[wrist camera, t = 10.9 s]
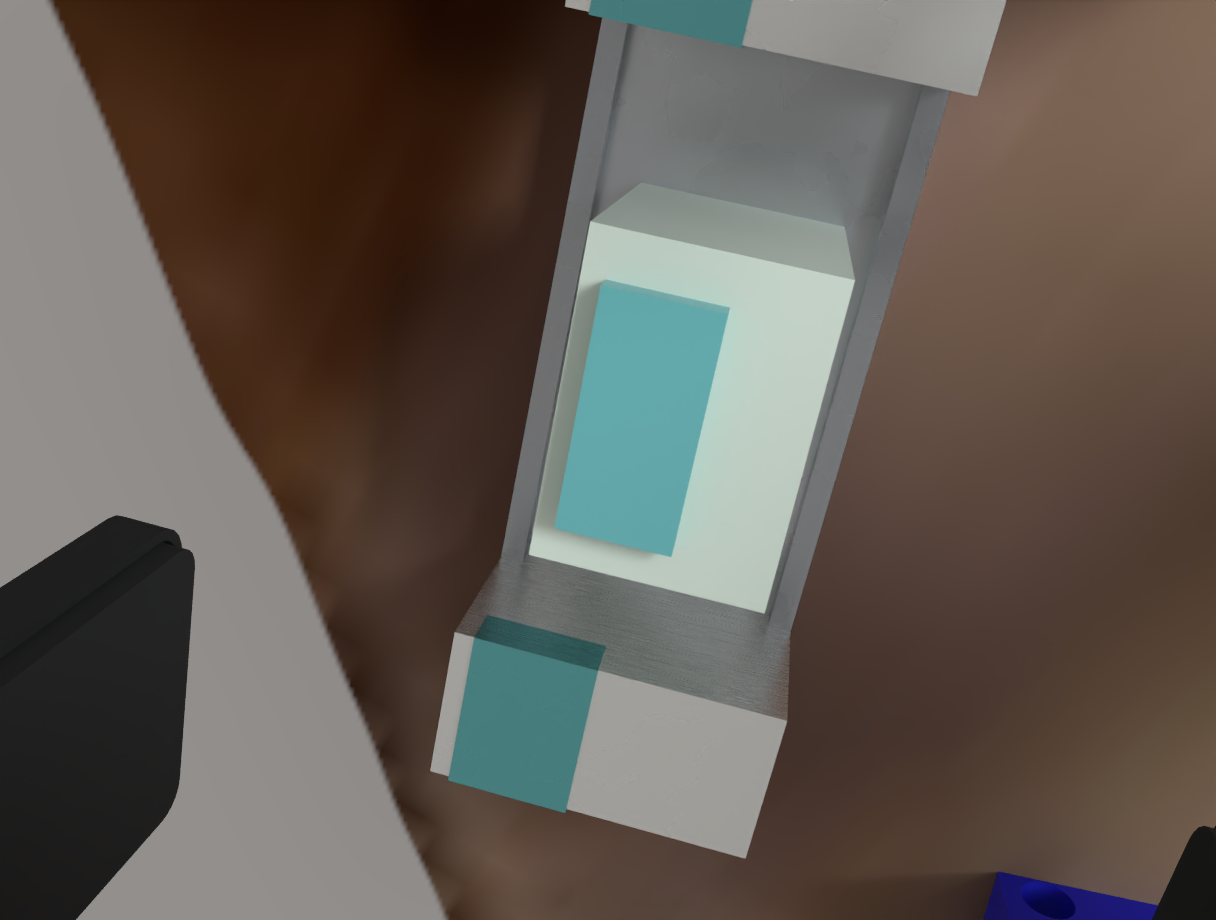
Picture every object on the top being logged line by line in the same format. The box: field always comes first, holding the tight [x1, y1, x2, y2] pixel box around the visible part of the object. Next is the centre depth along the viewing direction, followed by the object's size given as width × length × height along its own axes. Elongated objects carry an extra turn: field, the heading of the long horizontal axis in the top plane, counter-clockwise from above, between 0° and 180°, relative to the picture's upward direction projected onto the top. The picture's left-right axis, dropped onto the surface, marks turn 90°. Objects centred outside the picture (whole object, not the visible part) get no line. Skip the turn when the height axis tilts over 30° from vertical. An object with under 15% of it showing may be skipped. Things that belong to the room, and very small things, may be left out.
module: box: [529, 183, 855, 613], centre depth 26 cm, size 5×7×8 cm
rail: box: [430, 0, 1006, 859], centre depth 27 cm, size 8×24×6 cm, turn 168°
